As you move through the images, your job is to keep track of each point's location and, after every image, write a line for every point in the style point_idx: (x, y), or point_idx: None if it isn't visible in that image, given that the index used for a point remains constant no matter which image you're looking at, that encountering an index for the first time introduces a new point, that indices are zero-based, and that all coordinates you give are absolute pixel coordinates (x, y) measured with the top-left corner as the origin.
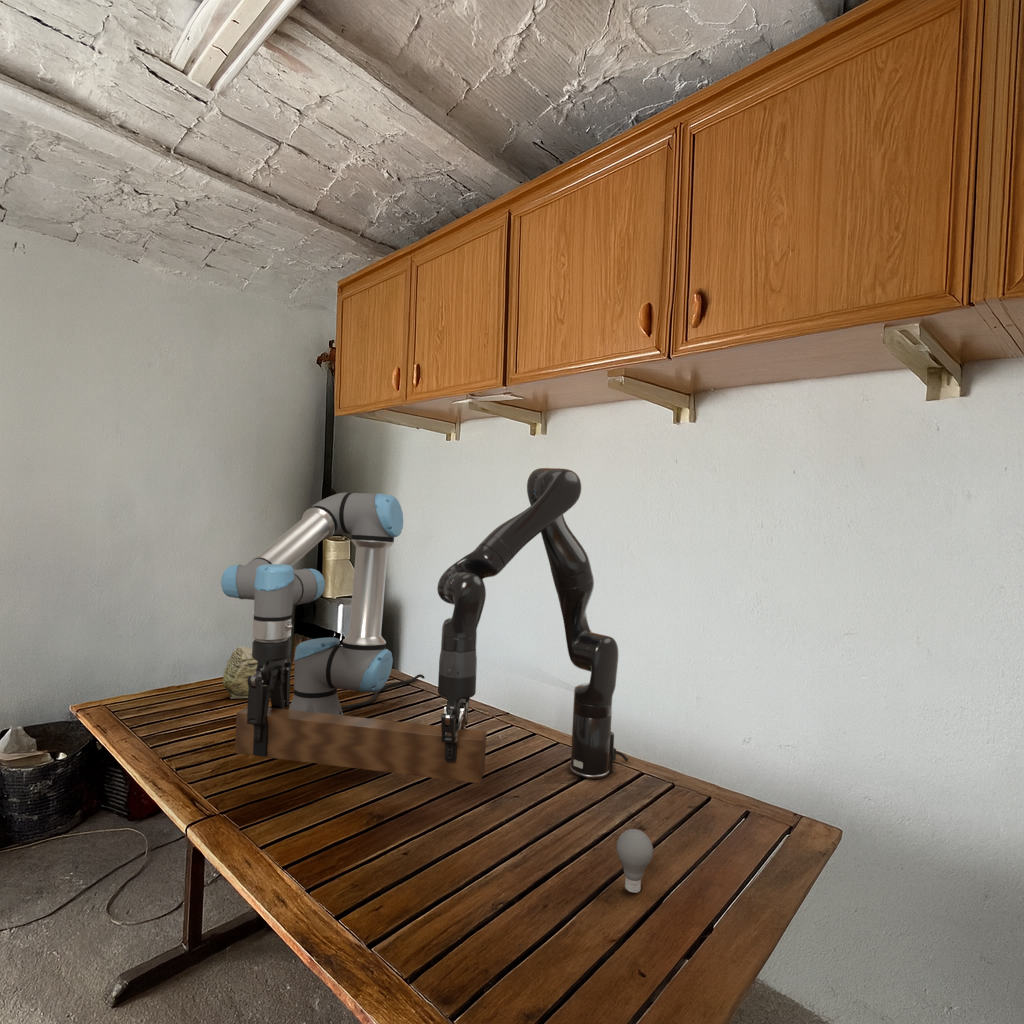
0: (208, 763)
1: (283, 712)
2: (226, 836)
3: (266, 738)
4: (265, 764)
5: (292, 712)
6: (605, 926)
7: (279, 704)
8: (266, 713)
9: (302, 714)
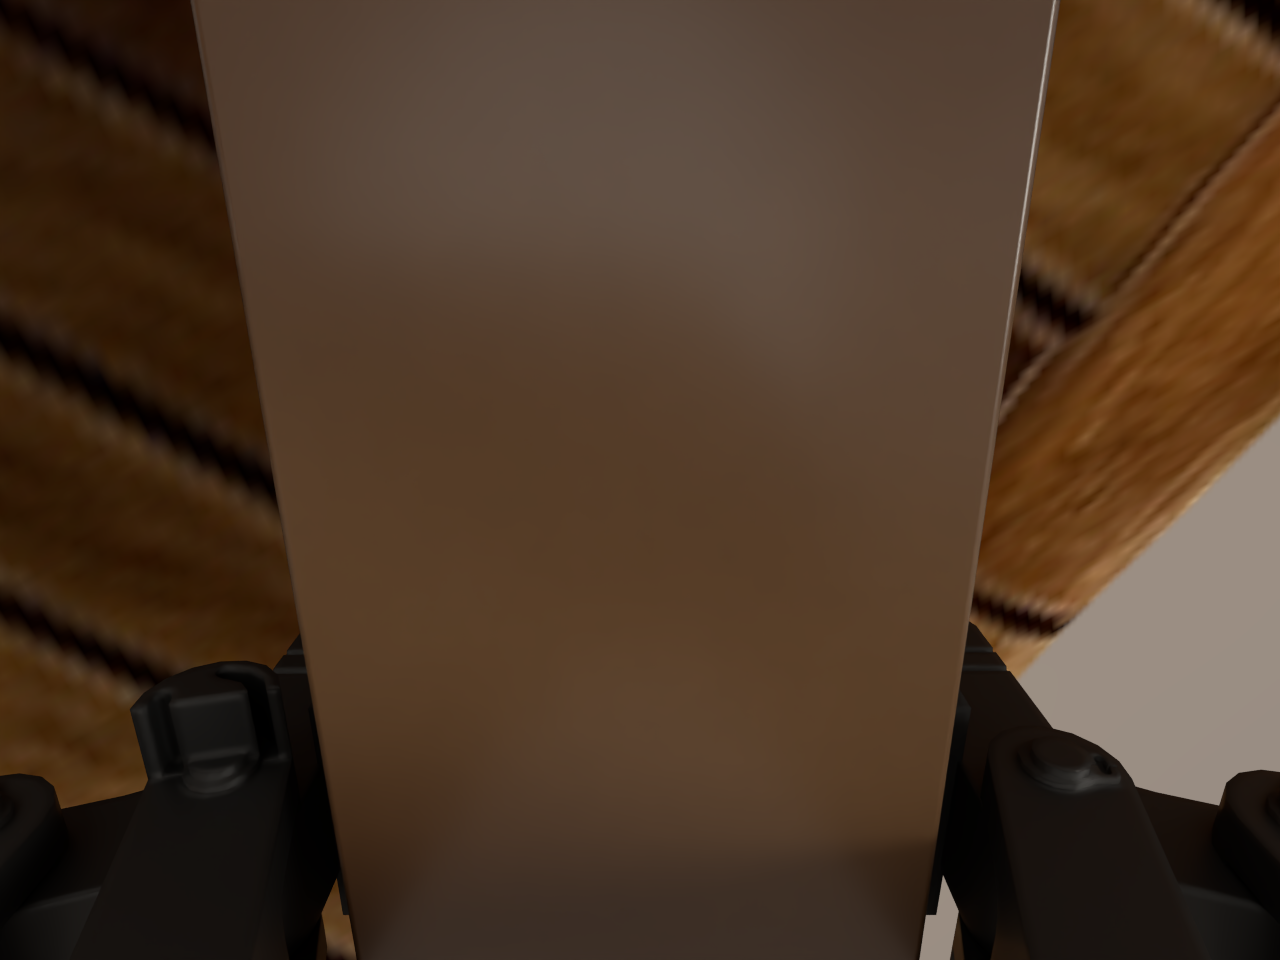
0: (335, 939)
1: (569, 647)
2: (1172, 359)
3: None
4: (198, 658)
5: (487, 421)
6: None
7: (267, 957)
8: (1063, 913)
9: (532, 2)
